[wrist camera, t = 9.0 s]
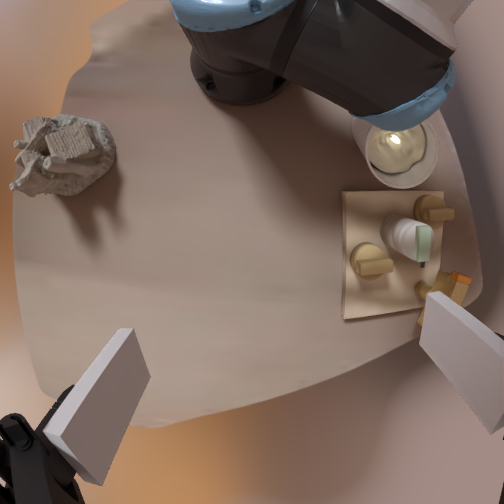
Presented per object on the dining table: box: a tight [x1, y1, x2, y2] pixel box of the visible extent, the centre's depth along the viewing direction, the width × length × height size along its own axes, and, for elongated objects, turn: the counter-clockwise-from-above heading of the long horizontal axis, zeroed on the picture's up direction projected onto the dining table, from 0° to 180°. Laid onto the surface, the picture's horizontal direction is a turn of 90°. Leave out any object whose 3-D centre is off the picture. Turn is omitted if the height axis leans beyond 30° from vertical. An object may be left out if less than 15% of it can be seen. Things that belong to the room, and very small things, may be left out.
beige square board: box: [341, 190, 455, 319], centre depth 38 cm, size 20×18×11 cm
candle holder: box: [352, 117, 440, 189], centre depth 33 cm, size 10×10×12 cm
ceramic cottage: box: [9, 114, 116, 197], centre depth 32 cm, size 16×16×15 cm
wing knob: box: [415, 270, 472, 327], centre depth 37 cm, size 3×10×10 cm, turn 166°
